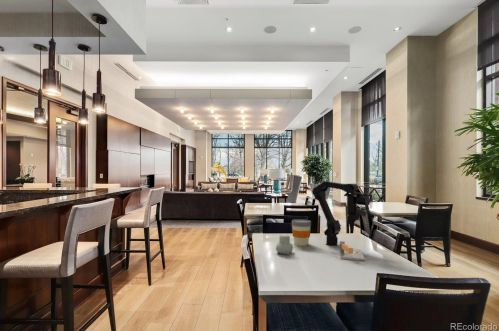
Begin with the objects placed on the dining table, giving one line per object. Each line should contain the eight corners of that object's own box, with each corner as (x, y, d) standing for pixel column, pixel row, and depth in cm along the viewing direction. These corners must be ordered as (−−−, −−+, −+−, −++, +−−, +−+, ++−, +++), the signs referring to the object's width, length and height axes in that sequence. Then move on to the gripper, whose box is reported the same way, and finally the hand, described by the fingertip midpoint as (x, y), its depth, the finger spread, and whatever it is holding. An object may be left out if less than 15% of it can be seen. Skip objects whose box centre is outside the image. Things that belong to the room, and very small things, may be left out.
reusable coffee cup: (313, 243, 186) (313, 220, 186) (306, 247, 175) (306, 223, 176) (296, 240, 193) (296, 218, 193) (288, 244, 182) (288, 221, 182)
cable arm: (338, 247, 163) (338, 241, 163) (343, 247, 163) (343, 241, 163) (348, 253, 150) (348, 247, 150) (353, 253, 150) (353, 247, 150)
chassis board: (340, 258, 152) (340, 253, 152) (339, 249, 171) (339, 244, 172) (364, 261, 149) (364, 255, 149) (361, 251, 168) (361, 246, 168)
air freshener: (289, 256, 156) (289, 238, 157) (275, 254, 159) (275, 236, 159) (293, 251, 167) (293, 234, 167) (279, 249, 170) (279, 233, 170)
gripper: (367, 206, 162) (367, 233, 161) (364, 203, 179) (364, 227, 179) (347, 205, 165) (347, 232, 164) (346, 202, 183) (345, 226, 182)
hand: (351, 229), depth 172 cm, fingers closed
